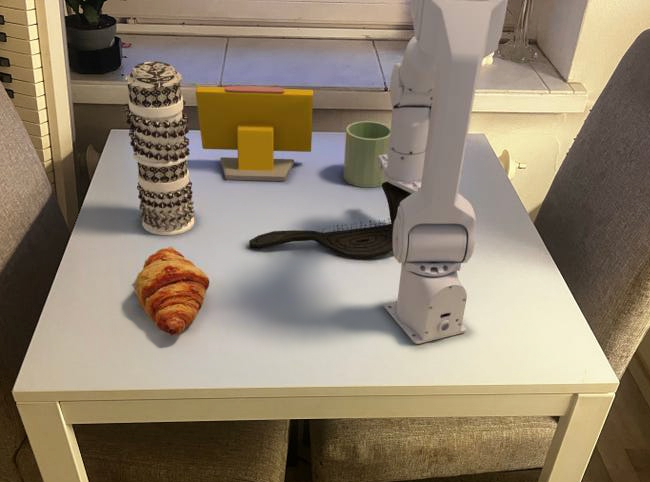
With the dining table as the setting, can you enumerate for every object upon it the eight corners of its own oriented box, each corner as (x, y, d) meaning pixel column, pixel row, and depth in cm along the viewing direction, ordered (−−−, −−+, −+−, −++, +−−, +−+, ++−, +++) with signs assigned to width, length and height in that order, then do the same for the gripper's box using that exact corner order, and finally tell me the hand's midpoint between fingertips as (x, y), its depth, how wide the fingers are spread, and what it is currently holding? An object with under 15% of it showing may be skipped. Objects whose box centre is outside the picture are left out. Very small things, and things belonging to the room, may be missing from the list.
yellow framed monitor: (310, 163, 144) (313, 79, 134) (310, 182, 138) (313, 95, 128) (204, 160, 144) (198, 75, 134) (199, 179, 137) (193, 92, 127)
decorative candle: (135, 212, 127) (115, 58, 111) (191, 206, 130) (178, 54, 114) (143, 239, 120) (123, 80, 105) (201, 232, 123) (190, 75, 107)
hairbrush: (248, 217, 121) (404, 210, 122) (250, 238, 124) (403, 230, 125) (247, 244, 115) (413, 236, 116) (249, 265, 117) (411, 257, 118)
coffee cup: (395, 183, 139) (401, 136, 133) (355, 190, 136) (358, 142, 130) (375, 165, 145) (379, 118, 139) (336, 171, 142) (338, 124, 136)
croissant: (152, 281, 117) (121, 243, 112) (208, 250, 116) (179, 209, 111) (158, 366, 101) (123, 325, 96) (224, 330, 100) (191, 287, 95)
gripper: (455, 162, 112) (442, 243, 121) (408, 125, 122) (399, 202, 131) (413, 169, 110) (403, 251, 118) (368, 130, 120) (362, 208, 128)
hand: (398, 226), depth 124 cm, fingers closed
